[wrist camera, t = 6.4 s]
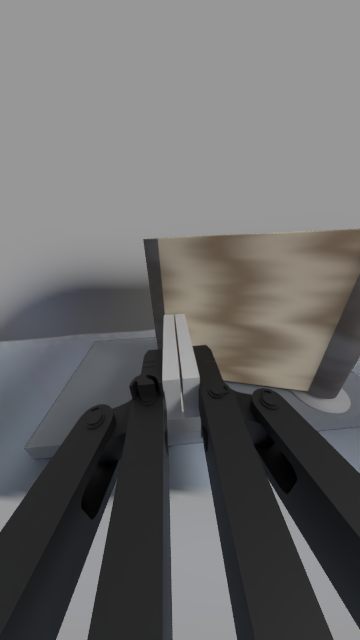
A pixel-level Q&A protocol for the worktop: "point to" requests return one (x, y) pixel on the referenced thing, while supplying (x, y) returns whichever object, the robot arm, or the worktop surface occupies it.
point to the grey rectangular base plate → (126, 363)
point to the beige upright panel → (265, 303)
